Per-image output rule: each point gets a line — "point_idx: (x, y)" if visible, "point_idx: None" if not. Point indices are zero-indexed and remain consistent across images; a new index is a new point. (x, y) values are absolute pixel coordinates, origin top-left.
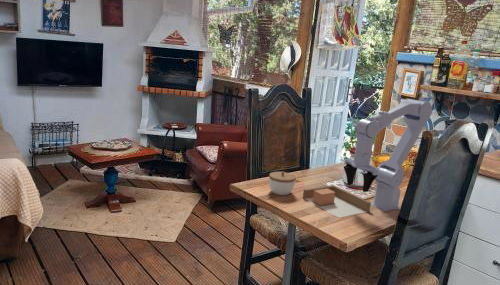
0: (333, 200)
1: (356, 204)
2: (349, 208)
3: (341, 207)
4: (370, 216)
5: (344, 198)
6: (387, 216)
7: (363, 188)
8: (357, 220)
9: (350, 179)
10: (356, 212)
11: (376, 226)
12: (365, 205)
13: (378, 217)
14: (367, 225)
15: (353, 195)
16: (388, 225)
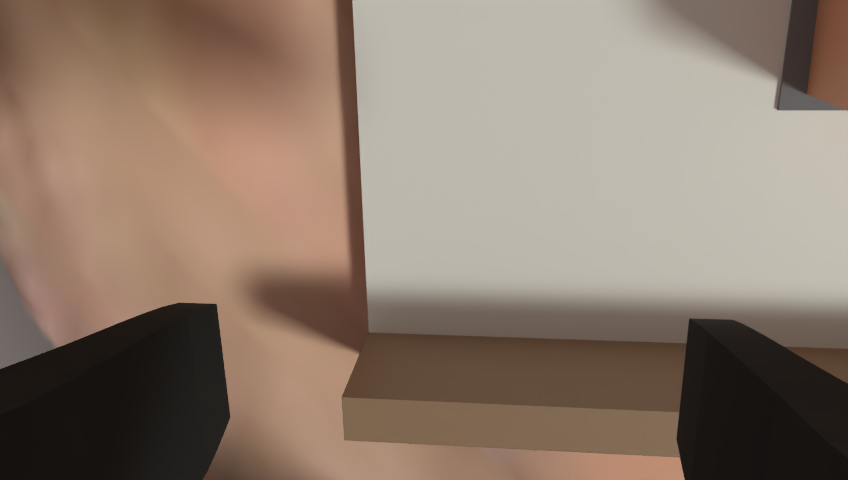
0: (828, 80)
1: (567, 350)
2: (542, 181)
3: (622, 89)
4: (281, 284)
5: (821, 361)
6: (224, 467)
7: (159, 320)
8: (229, 11)
9: (733, 444)
10: (395, 168)
11: (27, 116)
12: (401, 367)
13: (230, 351)
14: (72, 23)
15: (677, 420)
16: (25, 279)
